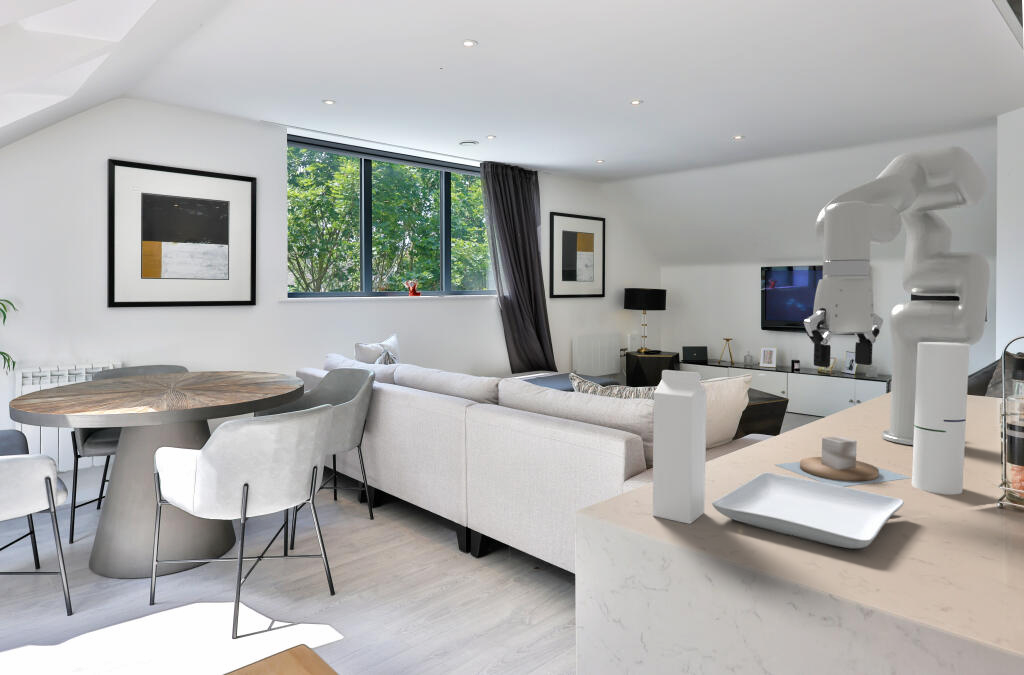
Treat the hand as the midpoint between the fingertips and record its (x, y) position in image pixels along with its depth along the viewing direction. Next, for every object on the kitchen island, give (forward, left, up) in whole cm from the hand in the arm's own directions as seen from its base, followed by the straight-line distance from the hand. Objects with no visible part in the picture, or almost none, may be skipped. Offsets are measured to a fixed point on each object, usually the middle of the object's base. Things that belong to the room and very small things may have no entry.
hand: (842, 365), depth 115 cm
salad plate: (+23, +17, -21) cm, 35 cm away
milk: (+40, +9, -20) cm, 46 cm away
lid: (0, 0, -20) cm, 20 cm away
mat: (-1, 0, -20) cm, 20 cm away
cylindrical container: (-8, +13, -20) cm, 25 cm away
